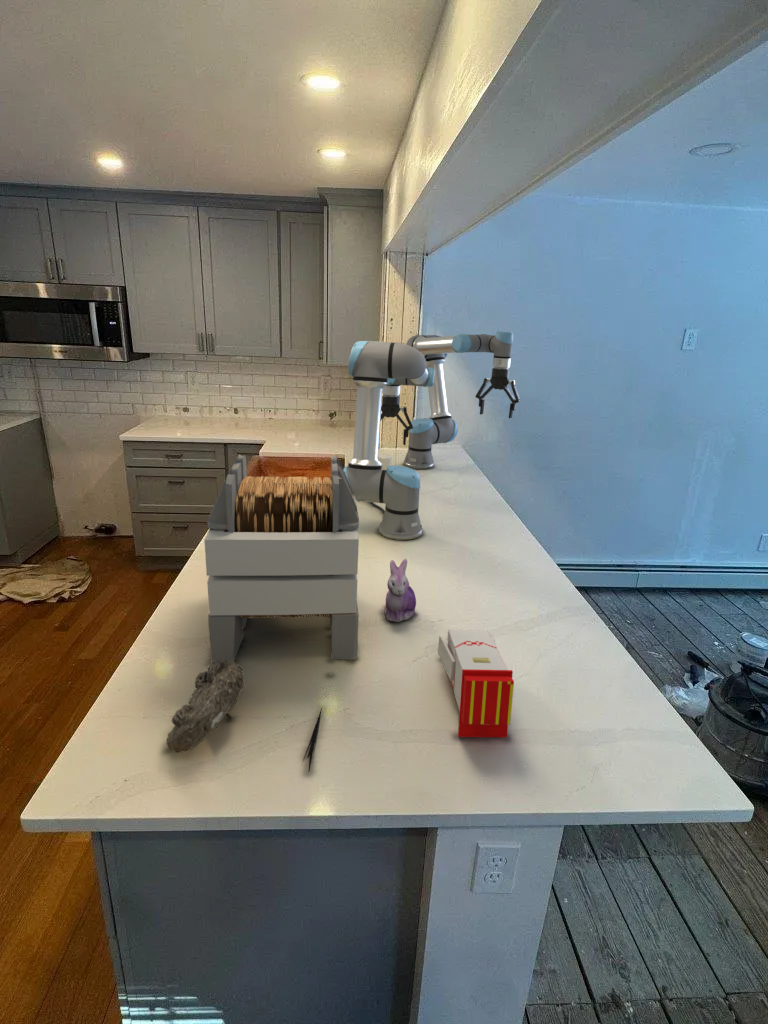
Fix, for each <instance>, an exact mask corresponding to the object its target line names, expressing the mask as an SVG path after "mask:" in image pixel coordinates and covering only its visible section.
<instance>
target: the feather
mask: <svg viewBox="0 0 768 1024" xmlns="http://www.w3.org/2000/svg"><path fill="white" fill-rule="evenodd" d="M329 675H330V676H331V675H332V674H331V673H330V674H329ZM322 710H323V707H321V708H320V710H319V713H318V716H317V719H316V723H315V725H314V728H313V731H312V733H311V737H310V739H309V742H308V745H307V748H306V751H305V754H304V757H303V760H302V763H301V767H302V765H303V763H304V761H305V758H308V759H309V760H308V762H307V763H308V764H307V766H308V771H310V770H311V766H312V765H311V764H312V760H313V757H315V756H314V755H315V751H316V749H315V746H317V739H318V733H319V729H320V722H321V717H322V712H323V711H322ZM313 754H314V755H313ZM306 755H307V757H306Z"/></svg>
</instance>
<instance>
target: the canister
mask: <svg viewBox="0 0 768 1024" xmlns="http://www.w3.org/2000/svg"><path fill="white" fill-rule="evenodd" d="M378 460H379V461H380V463H381V464H382V470H387V468H388V467H389V466H392V455H389V454H378Z"/></svg>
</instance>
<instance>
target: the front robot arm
mask: <svg viewBox="0 0 768 1024" xmlns="http://www.w3.org/2000/svg"><path fill="white" fill-rule="evenodd" d="M347 368H348V371H347V372H348V375H349V376H350V377H352V382H353V383H354V385H355V386H356V401H355V417H354V418H355V419H354V420H355V421H354V436H353V451H352V457H351V459H350V460H349V461H348V463H347V464H348V465H347V466H344V464H343V462H342V461H341V459H338V460H339V462H340V464H341V467H342V469H343V471H344V473H345V475H346V477H347V480H348V482H349V484H350V486H351V488H352V490H353V493H354V496H355V502H359V503H360V502H363V503H368V504H369V505H371V506H373V507H375V508H377V509H378V510H379V511H381V513H382V514H383V515H382V519H381V522H379V525H378V533H379V534H380V535H381V536H382V537H385V538H387V539H389V540H395V541H410V540H415V539H418V538H420V537H421V536H422V535H423V525H422V524H421V518H420V515H419V507H420V506H419V505H420V504H419V503H420V489H421V474H420V472H418V471H417V470H416V469H412V468H408V467H406V466H404V465H399V464H397V465H392V464H391V466H389V467H388V468H387V470H382V464H381V463H380V461H379V460H378V455H379V447H380V432H381V421H382V420H383V419H384V418H385V417H386V418H392V419H393V418H397V420H398V421H399V422H400V424H401V425H402V426H403V427H404V428H403V436H402V438H403V439H402V445H403V446H406V445H407V444H406V442H407V438H409V430H410V429H413V426H412V423H411V422H412V420H411V419H410V417H409V414H408V409H407V407H406V406H402V407H400V403H401V402H400V401H401V397H400V395H401V386H411V387H424V388H426V387H427V388H428V387H431V386H433V384H434V373H435V371H434V369H433V368H429V367H426V359H425V357H424V356H423V354H422V353H421V352H420V351H418V350H417V349H415V348H413V347H411V346H409V345H406V343H402V342H390V341H376V340H358V341H356V342H355V343H354V344H353V346H352V349H351V350H350V353H349V359H348V367H347ZM400 412H401V413H403V415H404V417H405V420H406V422H407V423H405V421H404V420H403V419H402V417H401V416H400V414H399V413H400ZM407 424H408V425H407ZM378 504H384V505H385V507H384V508H385V509H383V507H381V506H380V505H378Z"/></svg>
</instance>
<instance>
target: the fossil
mask: <svg viewBox="0 0 768 1024" xmlns="http://www.w3.org/2000/svg"><path fill="white" fill-rule="evenodd" d="M243 670H244V669H243V667H242V665H240V664H237V662H236V661H235V659H234V660H232V659H231V660H228V659H227V660H224V661H217V660H212V661H211V660H210V663H209V665H208V666H207V671H201V672H199V673H198V674H197V675H196V676H195V680H194V684H195V685H194V687H195V689H194V690H193V693H192V694H191V697H190V698H189V700H188V704H184V705H182V706H181V707H180V709H177V710H176V711H175V713H174V715H173V716H172V718H171V723H172V724H173V727H172V730H171V731H170V732H168V734H167V738H166V741H167V742H166V745H167V749H168V750H169V751H173V752H174V753H176V754H178V753H182V752H188V751H189V752H192V751H193V750H195V748H196V747H197V746H199V744H200V743H201V742H203V741H204V740H205V739H206V738H207V737H208V736H209V735H210V734H211V733H212V732H214V730H215V729H217V727H218V726H219V724H220V722H221V721H222V720H223V719H224V718H225V716H226V717H227V719H229V720H233V717H232V715H230V714H229V710H230V709H231V708H234V706H235V704H236V703H237V702H238V699H239V697H240V695H241V693H242V691H243V690H245V689H244V688H245V675H244V671H243Z"/></svg>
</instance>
